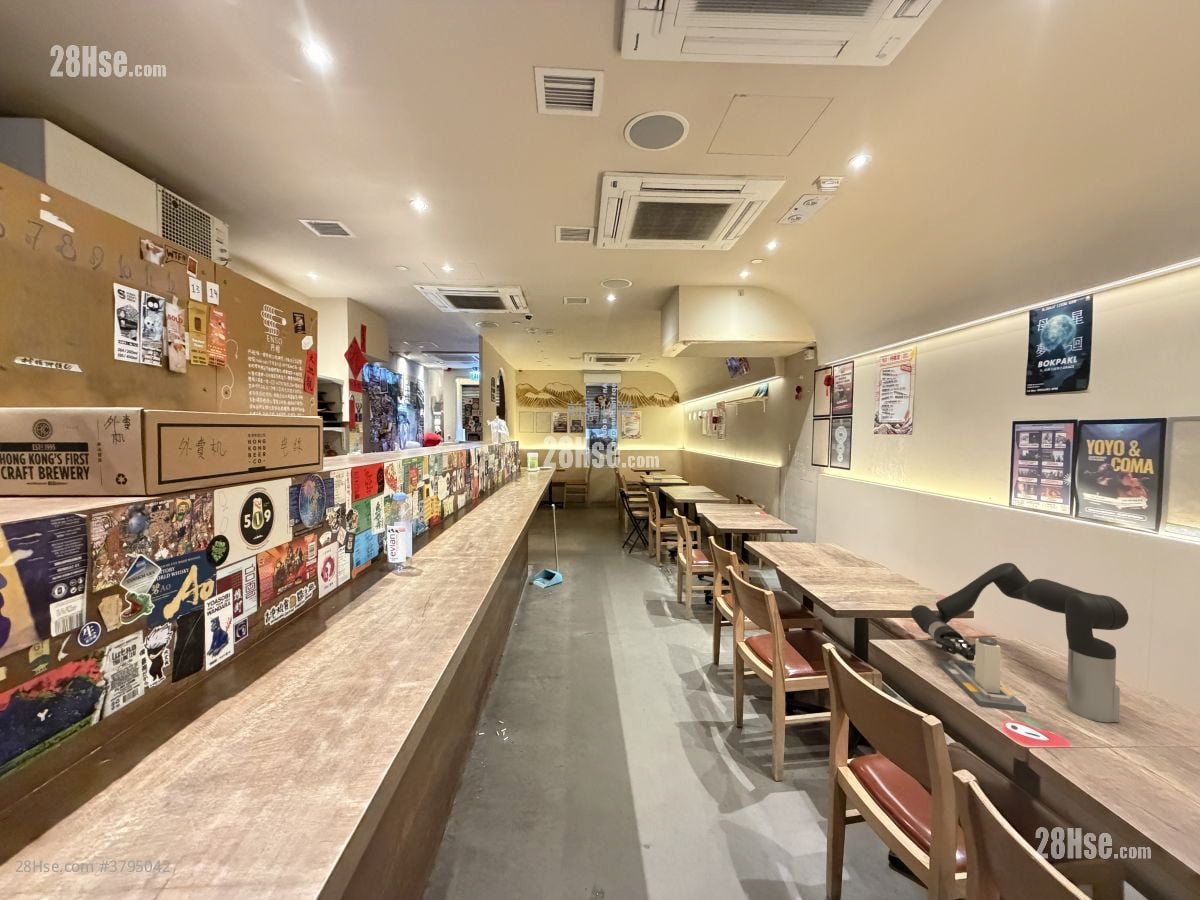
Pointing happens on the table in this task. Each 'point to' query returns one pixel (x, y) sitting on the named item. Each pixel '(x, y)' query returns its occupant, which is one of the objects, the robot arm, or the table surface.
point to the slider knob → (987, 664)
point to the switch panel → (966, 680)
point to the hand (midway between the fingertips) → (970, 657)
